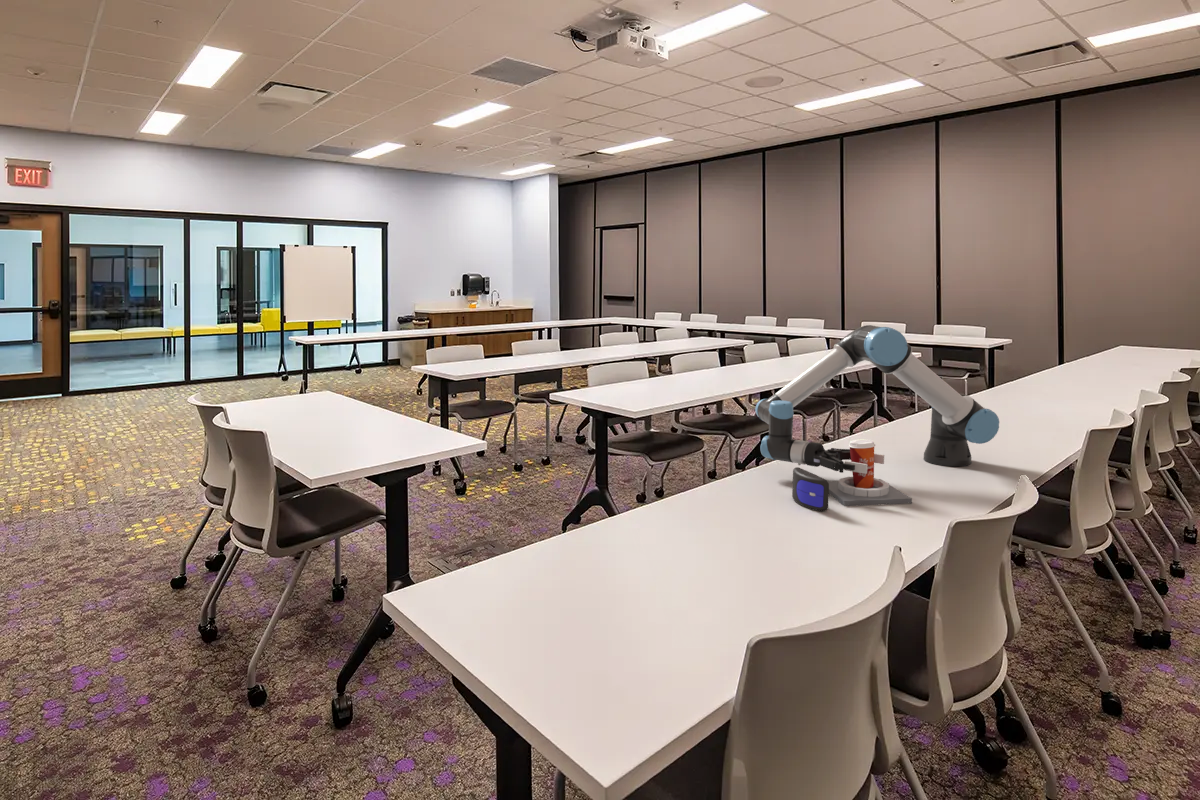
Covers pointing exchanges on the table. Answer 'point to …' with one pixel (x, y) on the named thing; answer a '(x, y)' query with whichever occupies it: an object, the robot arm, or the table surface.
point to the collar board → (867, 500)
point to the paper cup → (863, 462)
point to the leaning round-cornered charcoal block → (810, 490)
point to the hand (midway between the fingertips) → (875, 464)
